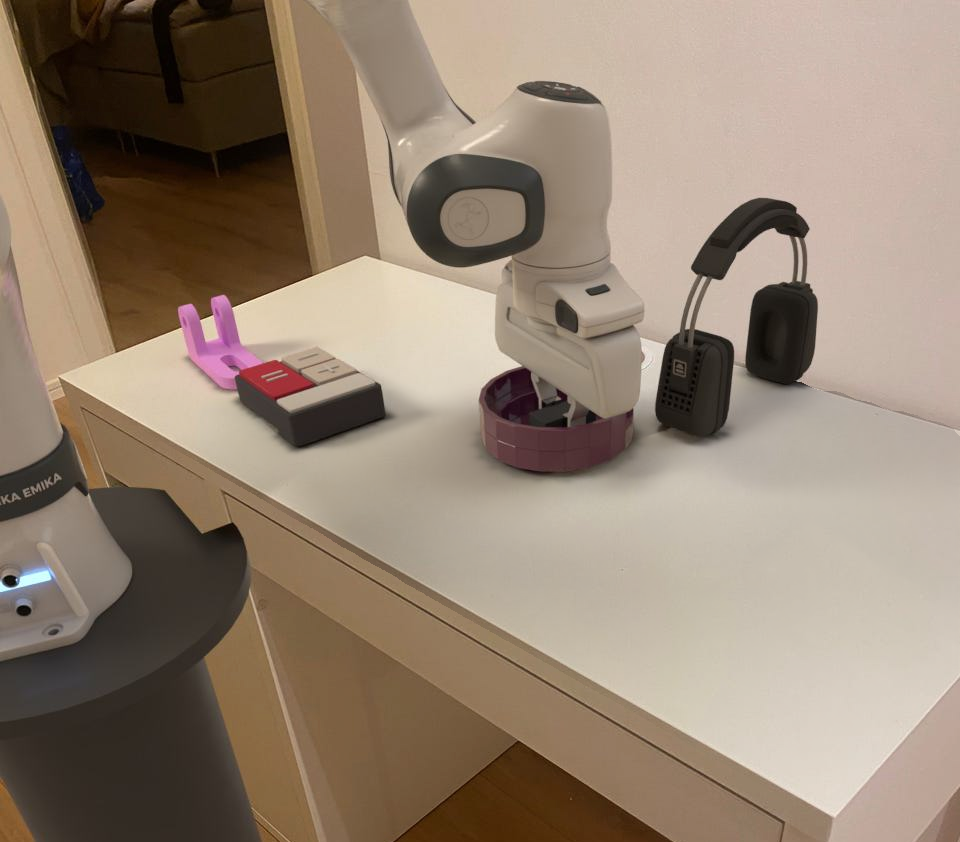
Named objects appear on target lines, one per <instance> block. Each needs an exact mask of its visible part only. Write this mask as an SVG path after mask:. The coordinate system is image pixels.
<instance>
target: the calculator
mask: <svg viewBox="0 0 960 842" xmlns="http://www.w3.org/2000/svg"><path fill="white" fill-rule="evenodd" d="M262 363H263V362H262ZM235 382H236V386H237V390H236V391H237V393H238V397H239V400H240V402H241V403H243V404H244V405H245V406H247V407H248V408H249V409H251V410H252V411H253V412H255V413H256V414H257V415H259V416H260V417H261V418H262V419H264V420H265V421H266V422H268V423H269V424H270V425H272V426H273V427H275V428H276V431H278V433H279V435H280V436H281V437H282V438H283V439H284V440H286V441H287V442H288V443H289V444H291V445H292V446H293V447H295V448H296V447H301V446H305V445H308V444H311V443H314V442H315V441H318V440H321V439H325V438H327V437H330V436H333V435H336V434H338V433H342V432H344V431H347V430H350V429H353V428H356V427H358V426H361V425H364V424H367V423H370V422H373V421H376V420H379V419H381V418H384V417H386V415H387V413H386V406H385V400H384V394H383V388H382V384H381V383H379V382H377V381H376V380H374V379H372V378H370V377H368V376H367V375H365V374H364V373H362V372H360V371H358V370H357V369H356V367H354V366H352V365H350V364H348V363H347V362H345V361H344V360H341V359H339V358H336V356H334V355H333V354H331V353H330V352H328V351H326V350H324V349H322V348H321V347H318V346H315V347H311V348H308V349H305V350H302V351H298V352H295V353H293V354H289V355H286V356H282V357H281V361H279V360H277V359H273V360H269V361H266V362H264V363H263V364H259V365H256V366H253V367H250V368H246V369H243V370H241V369H239V375H236V376H235Z"/></svg>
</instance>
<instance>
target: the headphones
mask: <svg viewBox="0 0 960 842" xmlns="http://www.w3.org/2000/svg"><path fill="white" fill-rule="evenodd" d="M773 229H774V230H775V232H776V233H777V234H779V235H784V236H788V237H789V240H790V242H791V245H792V252H793V266H792V267H793V269H792V270H793V271H792V279H791V281H789V282H786V281H781V282H780V283H771V284H767V285H764V286H763V287H762V288H760V289H759V290H756V292H755V293H754V295H753V298H752V300H751V305H750V313H749V322H748V330H747V339H746V348H745V349H746V350H745V359H744V363H745V368H746V370H747V372H748V373H750V374H751V375H754V376H756V377H759V378H762V379H766V380H769V381H772V382H776V383H779V384H786V385H787V384H791V383H794V382H797V381H798V380H800V379H801V378H803V376H804V374H805V373H806V372H807V371H808V370H809V369H810V367H811V365H812V363H813V360H814V356H815V351H816V341H817V328H818V327H817V326H818V325H817V324H818V313H819V302H818V297H817V295H816V294H815V293H814V289H813V288H811V284H810V283H808V282H806V281H807V274H808V250H807V249H808V248H807V244H806V240H805V238H806V236H807V235H808V234H809V231H810V230H811V229H810V226H809V224H808V223H807V221H806V219H805V218H804V217H803V216H802V215H801V214H800V213H798V207H797V206H796V205H794V204H793V203H790V202H789V201H786V200H780V199H775V198H770V197H757V198H753V199H750V200H747V201H746V202H744V203H742V204H740V205H739V206H737V207H736V208H735V209H734V210H733V211H731V213H730V214H729V215H727V216H726V217H725V218H724V219H723V220H722V221H721V222H720V223H719V225H717V226H716V228H715V229H714V230H713V231H712V232H711V234H709V236H708V237H707V239H706V240H705V242H704V243H703V244H702V246H701V248H700V249H699V251H698V252H697V254H696V256H695V258H694V260H693V262H692V264H691V266H690V270H691V271H692V272H693V273H694V274H695V275H696V278H695V279H694V282H693V284H692V286H691V288H690V291H689V293H688V295H687V299H686V303H685V305H684V308H683V312H682V316H681V320H680V326H679V332H677V333H675V334H674V335H673V336H672V337H671V338H670V339H669V340H668V341H667V342H666V344H665V347H664V349H663V355H662V360H661V367H660V371H659V377H658V384H657V390H656V397H655V403H654V413H655V417H656V420H657V421H658V422H659V423H660V424H662V425H664V426H665V427H668V428H670V429H673V430H676V431H679V432H682V433H684V434H687V435H690V436H694V437H697V438H699V437H700V438H703V437H706V436H709V435H714V434H716V433H718V432H719V431H720V430H721V428H723V426H724V425H725V424H726V423H727V419H728V416H729V411H730V402H731V393H732V384H733V374H734V366H735V365H734V364H735V347H734V344H733V342H732V341H731V340H730V339H728V338H726V337H724V336H722V335H718V334H714V333H710V332H708V331H703V330H701V329H700V330H699V329H696V324H697V319H698V315H699V311H700V309H701V306H702V303H703V300H704V297H705V295H706V292H707V290H708V288H709V286H710V284H711V282H712V280H716V281H723V280H724V279H725V277H726V275H727V273H728V272H729V270H730V268H731V267H732V265H733V263H734V261H735V260H736V257H737V254H738V253H740V252H742V251H743V250H744V249H745V248H746V247H748V245H750V243H752V241H754V240H755V239H756V238H757V237H759V236H760V235H761V234H763V233H765V232H766V231H769V230H773ZM797 238H798V241H799V244H800V247H801V255H802V256H801V257H802V268H801V279H800V280H798V274H799V261H800V260H799V247H798V242H797ZM703 277H705V281H704V282H703V285H702V287H701V289H700V291H699V294H698V295H697V298H696V302H695V305H694V308H693V310H692V315H691V318H690V323H689V328H686V327H687V321H688V316H689V311H690V309H691V306H692V303H693V299H694V297H695V294H696V292H697V289H698V288H699V285H700V284H701V281H702V279H703Z"/></svg>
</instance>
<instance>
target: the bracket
mask: <svg viewBox="0 0 960 842" xmlns="http://www.w3.org/2000/svg"><path fill="white" fill-rule="evenodd" d="M210 306H211V311H212V316H213V320H214V324H215V328H216V331H217V336H218V338H215V339H212V340H208V341H206V338H205V334H204V330H203V326H202V322H201V319H200V316H199V314H198V311H197V309H196V308H195V306H194V305H193V304H192V303H188V304H184V305H181V306H178V308H177V313H178V318H179V322H180V326H181V330H182V333H183V337H184V341H185V345H186V348H187V352H188V357H189V359H190V360H191V361H192V362H193V363H194V364H195V365H197V366H198V367H199V369H201V371H203V372H204V373H205V374H206V375H207V376H208V377H210V379H212V380H213V381H214V382H215V384H217V385H218V386H220V387H221V388H222V389H224V390H225V389H226V390H232V391H235V390H236V391H238V390H237V386H236V382H235V376H236V375H239V371H240V370H243V369H246V368H250V367H253V366H256V365H259V364H263V361H262V360H260V359H259V357H257V356H255V355H254V354H253V353H252V352H251V351H249V350H248V349H247V348H245V347H244V346H243V345H242V343H241V339H240V336H239V331H238V327H237V321H236V318H235V313H234V310H233V306H232V304H231V302H230V300H229V299H228V297H227V296H226V295H225V294H222V295H218V296H214V297H211V299H210ZM230 367H236V368H238V369H239V371H238V370H236V371H235V370H233V369H231V368H230Z"/></svg>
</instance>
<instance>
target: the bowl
mask: <svg viewBox="0 0 960 842" xmlns="http://www.w3.org/2000/svg"><path fill="white" fill-rule="evenodd" d="M556 392H557V396H558V397H560V398H561V402H564V401H567V400H568V395H566V394H565V393H563V392H562V391H560V390H559V389H557V388H556ZM478 409H479V410H478V413H479V427H480V429H479V430H480V439H481V442H482V444H483V446H484V449H485V451H486V452H487V453H489V454H490V455H491V456H492V457H494V459H496V460H497V461H500V462H502V463H504V464H506V465H510V466H512V467H515V468H517V469H524V470H530V471H536V472H572V471H577V470H583V469H589V468H592V467H596V466H599V465H601V464H604V463H606V462H609V461H612V460H613V459H614V458H616V457H617V456H619V455H620V454H622V453H623V452H625V451H626V449H627V448H628V447H629V445H630V443H631V442H632V441H633V434H634V433H633V432H634V411H635V410H634V408H633V409H632V410H630V411H628V412H626V413H623V414H620V415H617V416H614V417H610V418H601V417H600V416H598V415H597V414H596V421H594V422H591V423H588V424H583V425H576V426H570V427H535V426H530V422H529V413H530V412H533V411H536V410H539V398H538V396H537V393H536V390H535V388H534V385H533V382H532V379H531V371H530V370H528V369H527V368H525V367H523V366H522V365H520V366H518V367H515V368H511V369H508V370H505V371H503V372H502V373H500V374H498V375H496V376H494V377H492V378H491V379H489V381H487V382H486V384H485V385H484V386H483V387H481V389H480V393H479V396H478Z"/></svg>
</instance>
